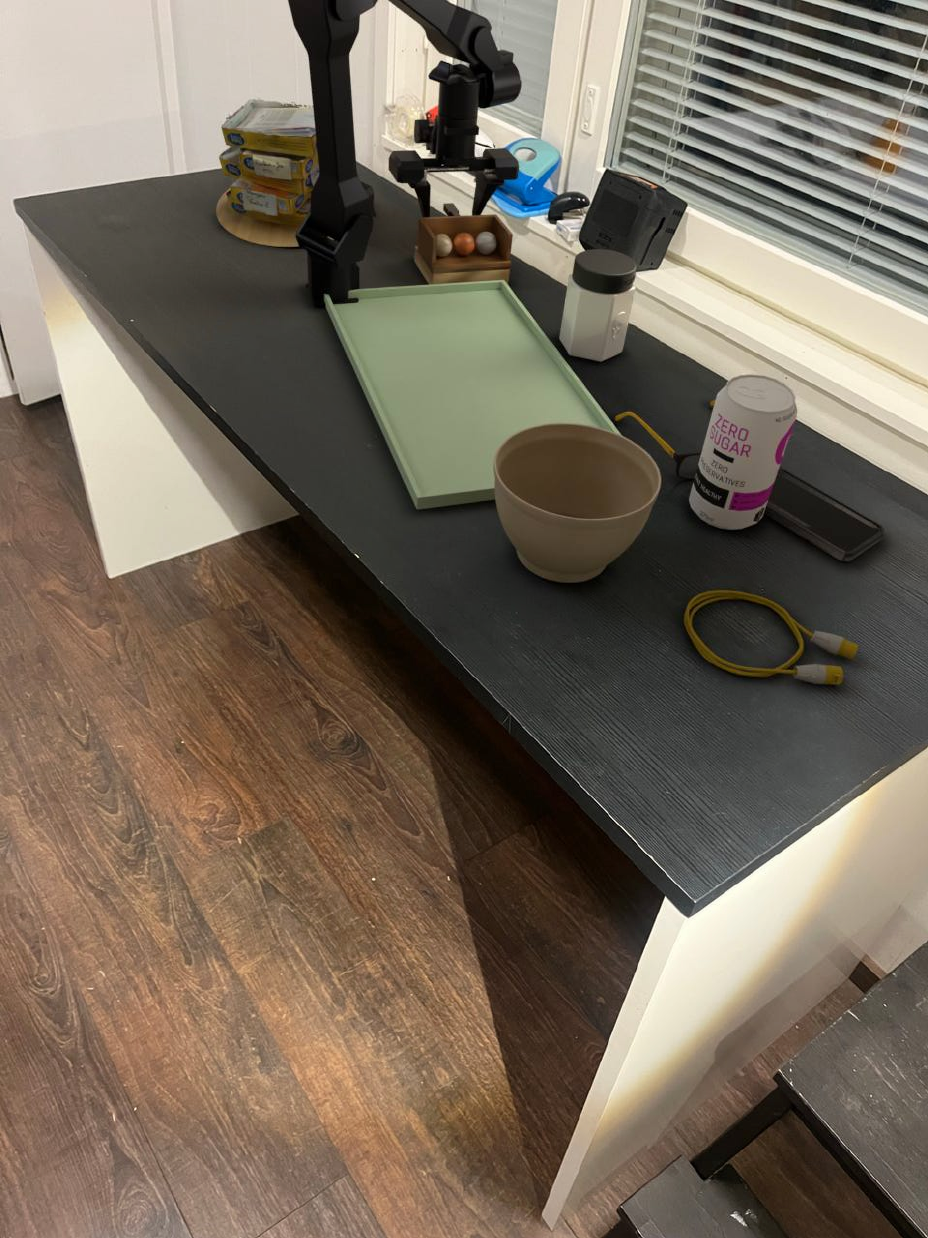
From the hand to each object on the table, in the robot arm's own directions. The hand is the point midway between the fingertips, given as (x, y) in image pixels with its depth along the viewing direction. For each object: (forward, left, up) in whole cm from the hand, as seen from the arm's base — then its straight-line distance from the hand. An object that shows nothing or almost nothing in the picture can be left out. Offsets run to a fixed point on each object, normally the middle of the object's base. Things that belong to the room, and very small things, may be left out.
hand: (450, 223), depth 146 cm
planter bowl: (-10, -72, -5) cm, 73 cm away
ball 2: (0, -7, 0) cm, 7 cm away
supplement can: (+11, -69, -5) cm, 70 cm away
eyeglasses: (+14, -56, -5) cm, 58 cm away
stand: (0, -6, -5) cm, 8 cm away
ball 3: (+4, -7, 0) cm, 8 cm away
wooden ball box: (0, -5, -3) cm, 6 cm away
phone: (+20, -72, -5) cm, 75 cm away
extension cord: (+4, -89, -5) cm, 90 cm away
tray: (-9, -38, -5) cm, 39 cm away
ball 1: (-3, -7, 0) cm, 8 cm away
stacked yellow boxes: (-21, +18, -5) cm, 28 cm away
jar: (+11, -31, -5) cm, 34 cm away
